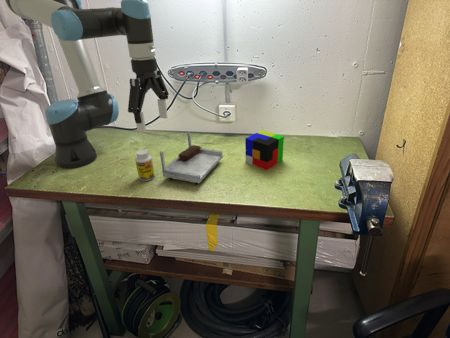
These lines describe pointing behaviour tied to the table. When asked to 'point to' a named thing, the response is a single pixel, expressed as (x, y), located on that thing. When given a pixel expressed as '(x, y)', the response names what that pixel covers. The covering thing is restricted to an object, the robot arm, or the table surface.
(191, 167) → the cart
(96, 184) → the table surface
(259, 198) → the table surface
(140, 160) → the supplement bottle
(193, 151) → the brick
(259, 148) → the puzzle toy
